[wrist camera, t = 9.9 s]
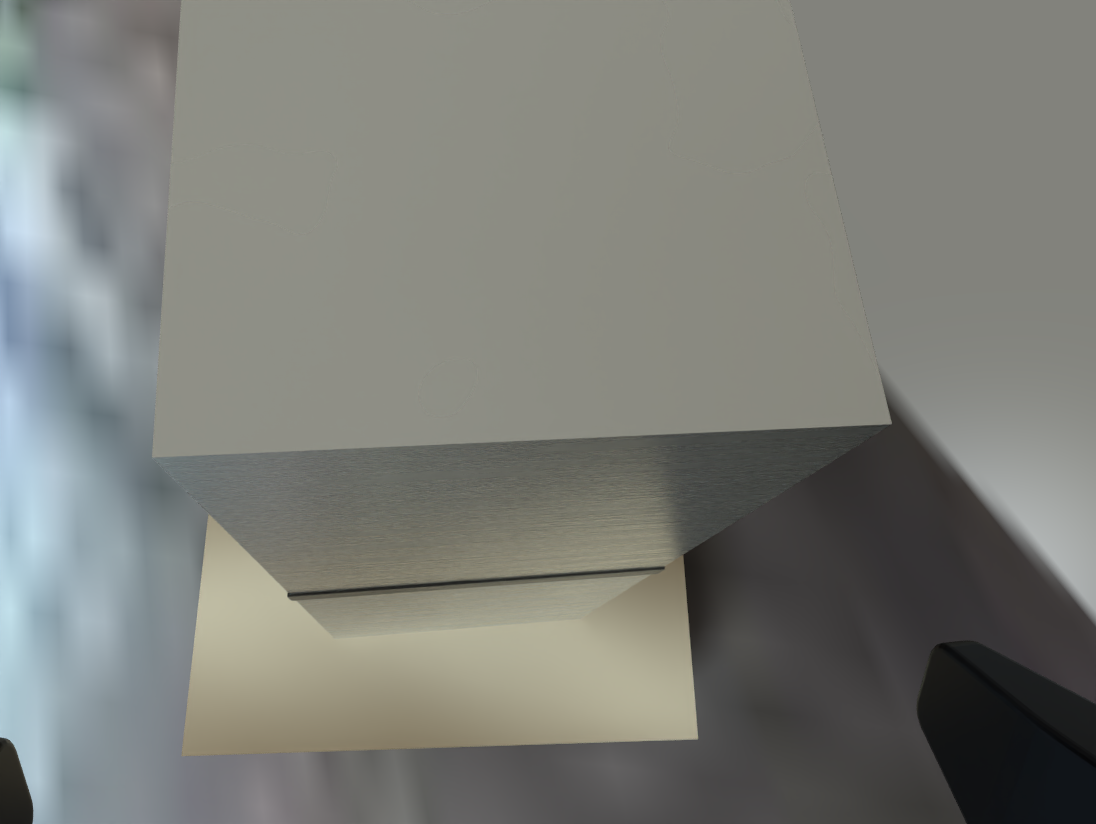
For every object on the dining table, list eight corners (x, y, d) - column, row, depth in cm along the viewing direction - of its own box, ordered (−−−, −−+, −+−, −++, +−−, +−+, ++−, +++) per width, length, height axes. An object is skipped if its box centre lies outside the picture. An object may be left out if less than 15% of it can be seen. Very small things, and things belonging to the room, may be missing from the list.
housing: (581, 620, 18) (896, 428, 6) (333, 640, 17) (147, 462, 5) (556, 374, 20) (760, -135, 8) (330, 381, 19) (188, -177, 7)
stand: (658, 736, 20) (698, 739, 17) (216, 750, 19) (181, 756, 16) (633, 349, 23) (662, 299, 21) (258, 336, 22) (234, 280, 19)
